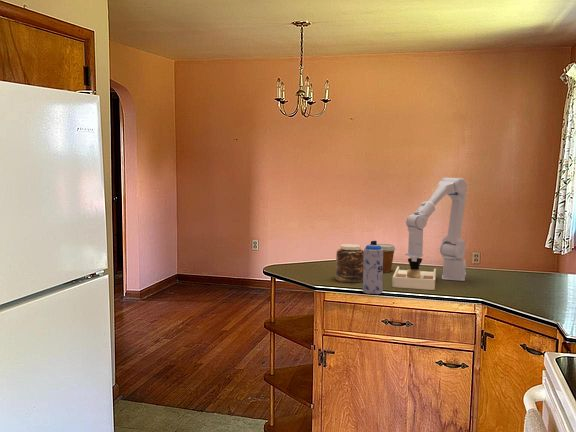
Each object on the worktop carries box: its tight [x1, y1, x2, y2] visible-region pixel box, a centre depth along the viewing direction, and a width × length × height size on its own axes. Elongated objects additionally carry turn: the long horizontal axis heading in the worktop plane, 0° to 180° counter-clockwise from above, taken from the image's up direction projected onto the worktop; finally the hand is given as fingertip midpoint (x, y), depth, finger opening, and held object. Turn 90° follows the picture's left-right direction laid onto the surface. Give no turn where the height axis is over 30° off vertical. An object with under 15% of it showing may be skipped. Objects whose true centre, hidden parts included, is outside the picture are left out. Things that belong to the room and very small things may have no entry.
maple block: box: [406, 268, 421, 279], centre depth 217 cm, size 5×5×4 cm
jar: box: [335, 243, 364, 284], centre depth 228 cm, size 12×12×15 cm
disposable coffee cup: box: [377, 243, 396, 273], centre depth 247 cm, size 10×10×12 cm
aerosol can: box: [361, 240, 384, 295], centre depth 207 cm, size 8×8×20 cm
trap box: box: [391, 265, 437, 291], centre depth 225 cm, size 17×24×4 cm
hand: (414, 275), depth 221 cm, fingers closed
